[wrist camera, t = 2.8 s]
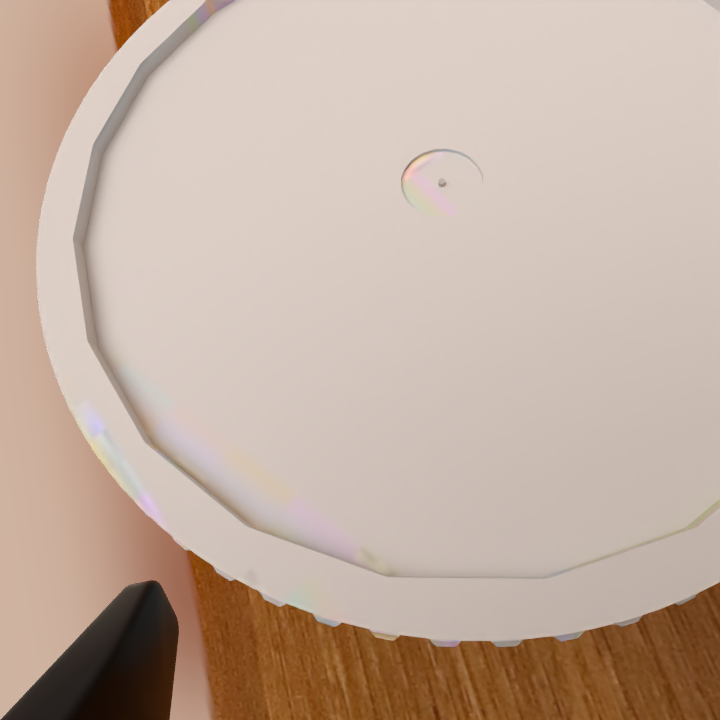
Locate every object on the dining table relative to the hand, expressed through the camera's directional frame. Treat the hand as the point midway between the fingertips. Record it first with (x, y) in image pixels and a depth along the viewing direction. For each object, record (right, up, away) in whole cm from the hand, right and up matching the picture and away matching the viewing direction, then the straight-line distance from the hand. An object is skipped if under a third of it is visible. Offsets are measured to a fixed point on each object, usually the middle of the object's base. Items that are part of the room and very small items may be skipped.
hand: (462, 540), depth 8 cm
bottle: (0, -1, +10) cm, 10 cm away
